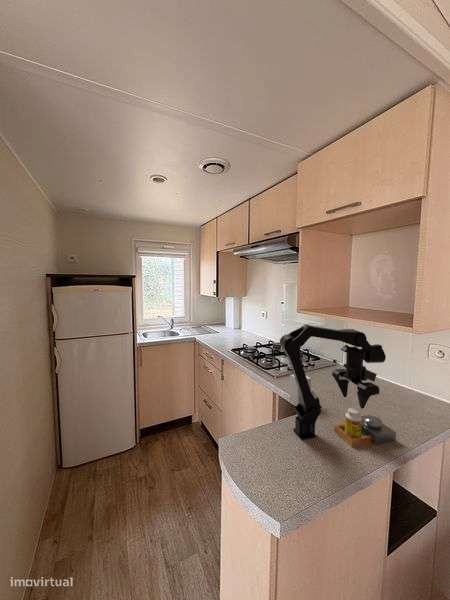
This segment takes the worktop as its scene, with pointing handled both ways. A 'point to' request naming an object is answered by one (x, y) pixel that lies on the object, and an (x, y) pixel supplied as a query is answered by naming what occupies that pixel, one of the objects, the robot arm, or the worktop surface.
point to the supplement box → (296, 389)
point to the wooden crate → (368, 432)
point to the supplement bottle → (353, 423)
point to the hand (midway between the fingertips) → (353, 402)
